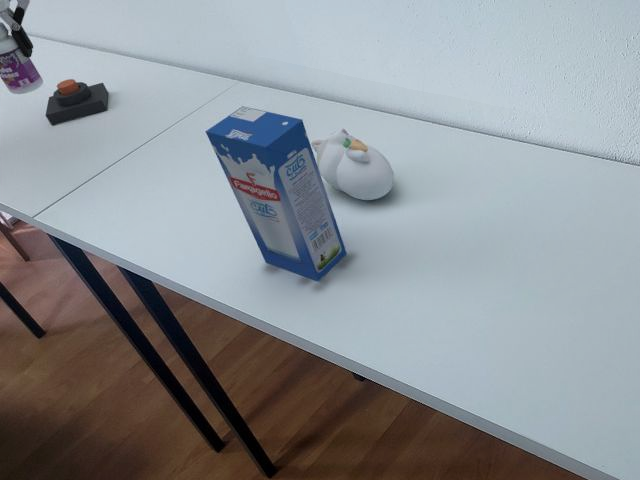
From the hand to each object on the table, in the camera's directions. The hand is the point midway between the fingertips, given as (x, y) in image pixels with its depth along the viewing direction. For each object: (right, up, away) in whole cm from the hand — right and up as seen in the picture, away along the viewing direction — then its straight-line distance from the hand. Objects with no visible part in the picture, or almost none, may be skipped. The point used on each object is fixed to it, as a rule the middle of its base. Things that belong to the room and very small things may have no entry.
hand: (9, 58), depth 102 cm
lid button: (-7, +6, +27) cm, 29 cm away
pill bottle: (+1, -3, +4) cm, 5 cm away
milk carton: (+51, -34, -13) cm, 62 cm away
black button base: (-7, +3, +30) cm, 31 cm away
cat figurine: (+56, -22, -3) cm, 60 cm away
